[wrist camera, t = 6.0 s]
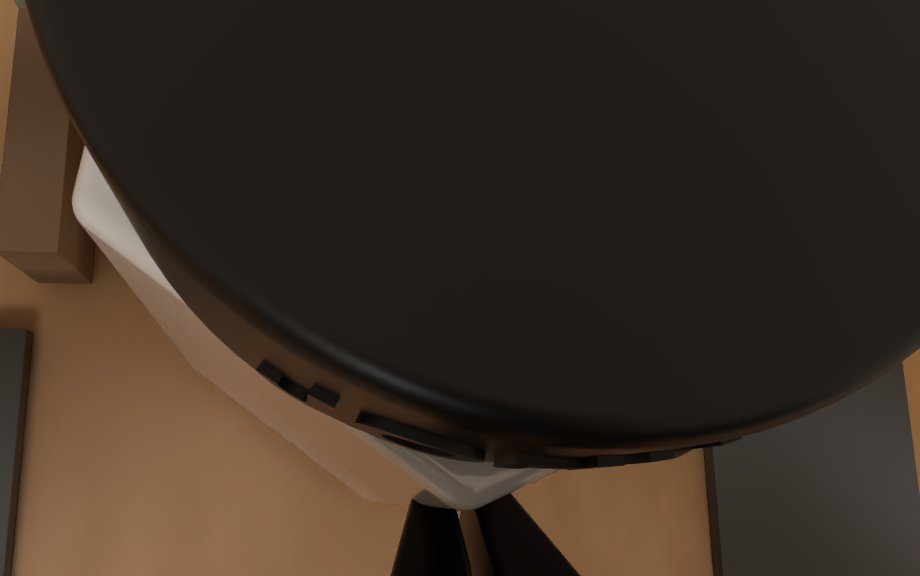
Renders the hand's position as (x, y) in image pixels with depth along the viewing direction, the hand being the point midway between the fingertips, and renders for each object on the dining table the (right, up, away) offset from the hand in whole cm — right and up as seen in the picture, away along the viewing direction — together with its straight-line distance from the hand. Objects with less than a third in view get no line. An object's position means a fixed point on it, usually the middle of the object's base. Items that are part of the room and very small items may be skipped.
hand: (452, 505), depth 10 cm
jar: (-1, +3, +8) cm, 8 cm away
